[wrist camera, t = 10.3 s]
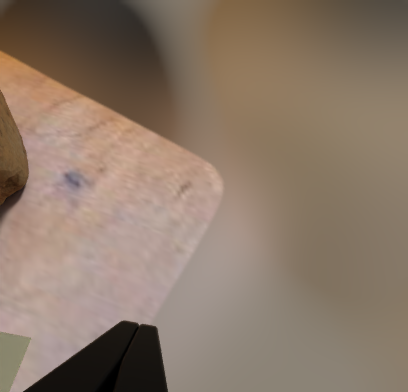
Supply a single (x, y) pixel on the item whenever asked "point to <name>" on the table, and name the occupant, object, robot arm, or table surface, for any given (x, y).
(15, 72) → the table surface
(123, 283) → the table surface
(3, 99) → the brown stone
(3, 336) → the sage cube
